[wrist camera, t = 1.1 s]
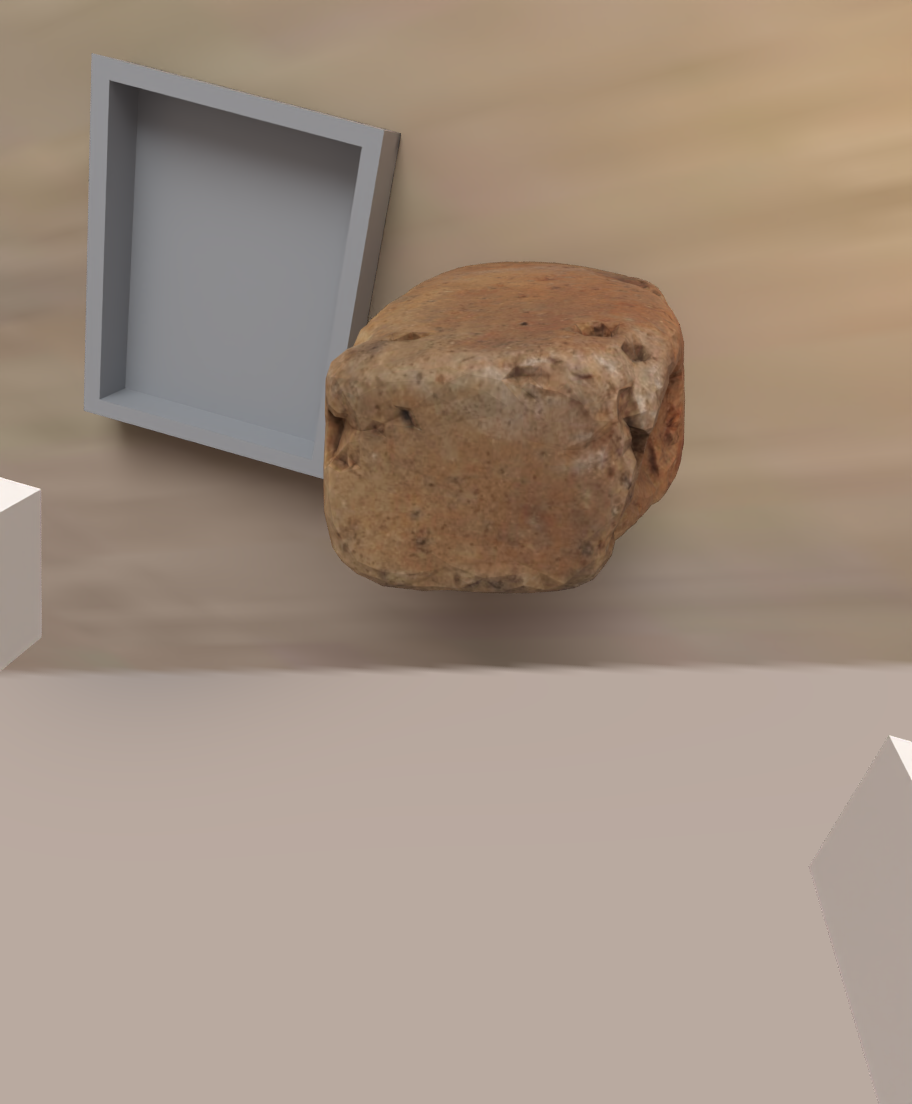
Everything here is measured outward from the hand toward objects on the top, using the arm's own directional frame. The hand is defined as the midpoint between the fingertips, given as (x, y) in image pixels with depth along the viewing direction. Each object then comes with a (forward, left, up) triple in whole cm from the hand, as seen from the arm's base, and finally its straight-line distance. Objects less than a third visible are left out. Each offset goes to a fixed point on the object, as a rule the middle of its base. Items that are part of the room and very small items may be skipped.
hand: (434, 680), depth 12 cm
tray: (+15, +1, -29) cm, 32 cm away
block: (0, 0, -29) cm, 29 cm away
